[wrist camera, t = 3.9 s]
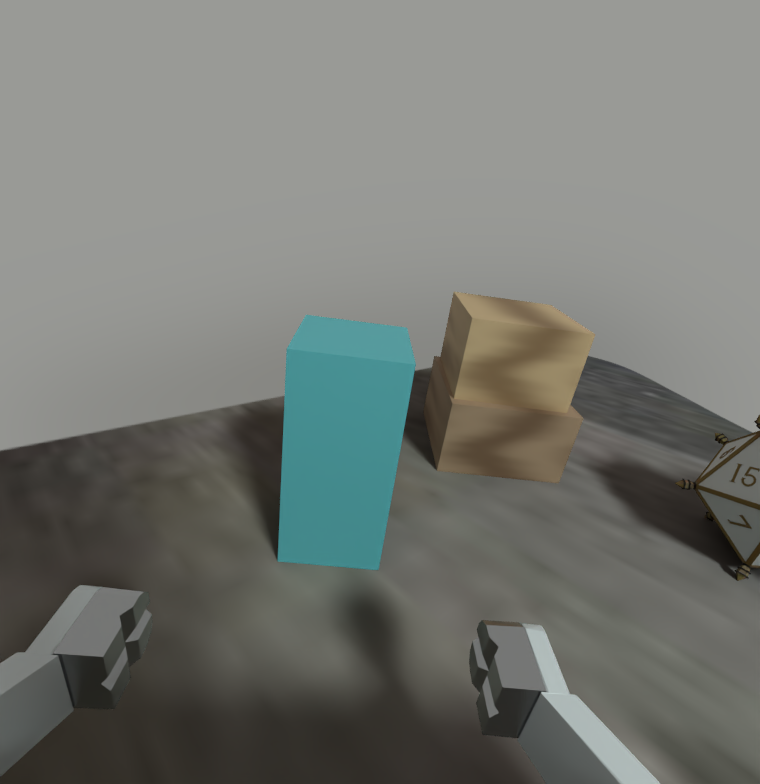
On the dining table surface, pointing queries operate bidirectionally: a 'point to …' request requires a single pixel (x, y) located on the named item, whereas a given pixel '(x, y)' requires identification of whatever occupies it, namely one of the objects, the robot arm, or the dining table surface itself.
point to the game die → (734, 495)
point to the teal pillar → (341, 439)
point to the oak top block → (513, 352)
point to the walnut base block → (496, 435)
